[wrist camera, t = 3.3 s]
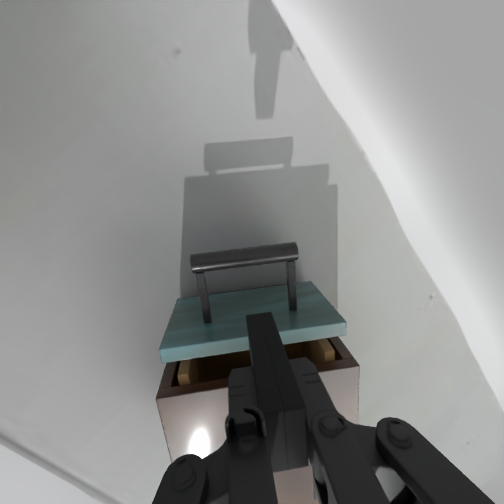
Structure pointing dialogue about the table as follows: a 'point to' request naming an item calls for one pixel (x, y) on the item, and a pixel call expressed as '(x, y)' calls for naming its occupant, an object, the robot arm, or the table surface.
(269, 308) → the drawer
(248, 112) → the table surface
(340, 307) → the table surface
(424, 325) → the table surface
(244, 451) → the robot arm
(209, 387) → the cabinet
